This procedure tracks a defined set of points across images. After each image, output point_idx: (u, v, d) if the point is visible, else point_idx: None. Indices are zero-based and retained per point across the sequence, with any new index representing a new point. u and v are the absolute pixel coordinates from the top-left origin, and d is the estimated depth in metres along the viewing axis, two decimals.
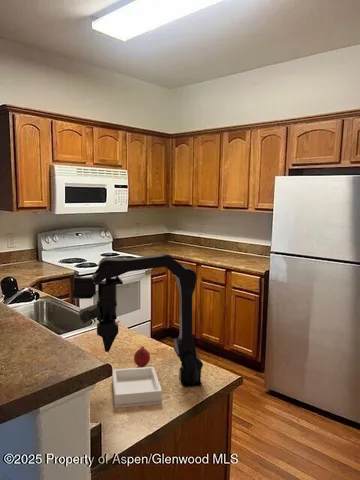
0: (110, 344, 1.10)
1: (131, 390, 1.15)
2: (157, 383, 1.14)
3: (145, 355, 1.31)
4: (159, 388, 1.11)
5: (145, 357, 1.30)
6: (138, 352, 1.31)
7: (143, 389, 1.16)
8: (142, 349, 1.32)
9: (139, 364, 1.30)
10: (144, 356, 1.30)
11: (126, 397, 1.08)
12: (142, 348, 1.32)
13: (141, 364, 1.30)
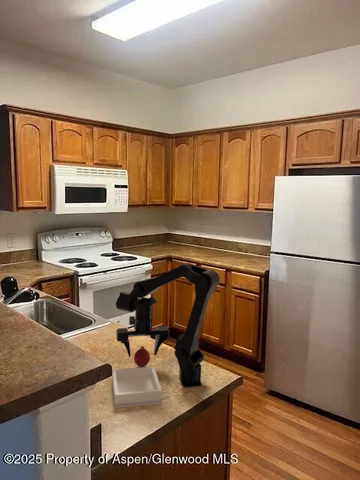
0: (127, 351, 1.30)
1: (131, 390, 1.15)
2: (157, 383, 1.14)
3: (145, 355, 1.31)
4: (159, 388, 1.11)
5: (145, 357, 1.30)
6: (138, 352, 1.31)
7: (143, 389, 1.16)
8: (142, 349, 1.32)
9: (139, 364, 1.30)
10: (144, 356, 1.30)
11: (126, 397, 1.08)
12: (142, 348, 1.32)
13: (141, 364, 1.30)
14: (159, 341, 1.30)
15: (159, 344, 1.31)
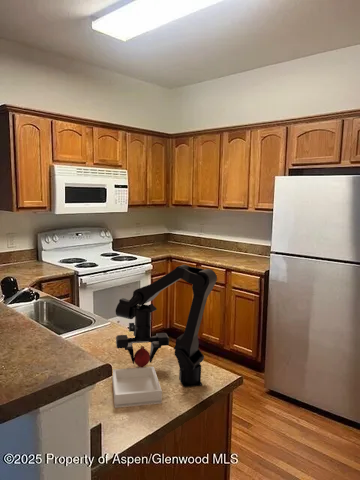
0: (131, 357, 1.31)
1: (131, 390, 1.15)
2: (157, 383, 1.14)
3: (145, 355, 1.31)
4: (159, 388, 1.11)
5: (145, 357, 1.30)
6: (138, 352, 1.31)
7: (143, 389, 1.16)
8: (142, 349, 1.32)
9: (139, 364, 1.30)
10: (144, 356, 1.30)
11: (126, 397, 1.08)
12: (142, 348, 1.32)
13: (141, 364, 1.30)
14: (154, 348, 1.30)
15: (154, 351, 1.31)
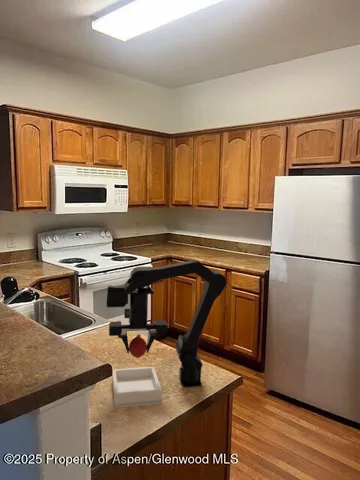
0: (125, 346, 1.17)
1: (131, 390, 1.15)
2: (157, 383, 1.14)
3: (141, 344, 1.17)
4: (159, 388, 1.11)
5: (141, 346, 1.17)
6: (133, 341, 1.18)
7: (143, 389, 1.16)
8: (138, 337, 1.18)
9: (134, 354, 1.17)
10: (139, 345, 1.17)
11: (126, 397, 1.08)
12: (138, 336, 1.18)
13: (137, 354, 1.17)
14: (151, 337, 1.17)
15: (152, 340, 1.17)
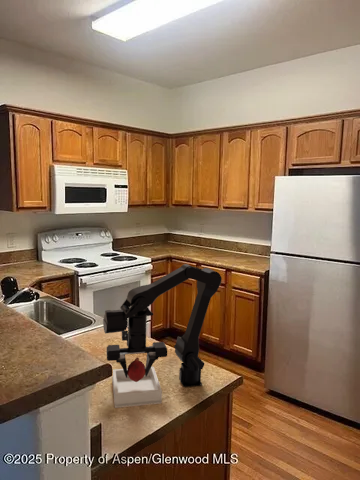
0: None
1: (131, 390, 1.15)
2: (157, 383, 1.14)
3: (140, 368, 1.14)
4: (159, 388, 1.11)
5: (140, 370, 1.14)
6: (132, 364, 1.14)
7: (143, 389, 1.16)
8: (136, 361, 1.15)
9: (133, 378, 1.14)
10: (138, 369, 1.14)
11: (126, 397, 1.08)
12: (136, 360, 1.15)
13: (136, 379, 1.14)
14: (151, 360, 1.14)
15: (151, 363, 1.14)
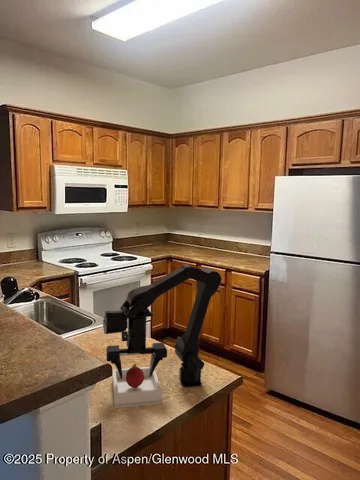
0: None
1: (131, 390, 1.15)
2: (157, 383, 1.14)
3: (138, 374, 1.14)
4: (159, 388, 1.11)
5: (138, 376, 1.14)
6: (129, 372, 1.14)
7: (143, 389, 1.16)
8: (134, 368, 1.15)
9: (132, 385, 1.14)
10: (136, 376, 1.14)
11: (126, 397, 1.08)
12: (134, 366, 1.15)
13: (134, 385, 1.14)
14: (155, 361, 1.14)
15: (155, 364, 1.15)
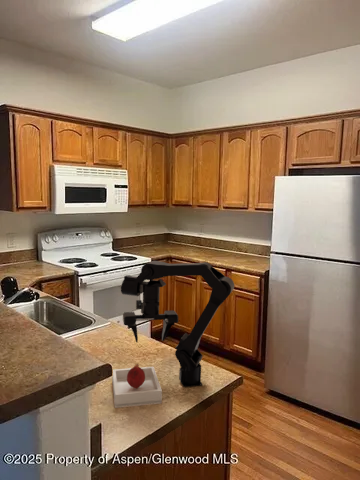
0: (134, 335, 1.25)
1: (131, 390, 1.15)
2: (157, 383, 1.14)
3: (139, 374, 1.14)
4: (159, 388, 1.11)
5: (139, 377, 1.14)
6: (131, 371, 1.15)
7: (143, 389, 1.16)
8: (136, 368, 1.15)
9: (132, 385, 1.14)
10: (138, 376, 1.14)
11: (126, 397, 1.08)
12: (136, 366, 1.15)
13: (135, 385, 1.14)
14: (167, 325, 1.25)
15: (167, 329, 1.26)
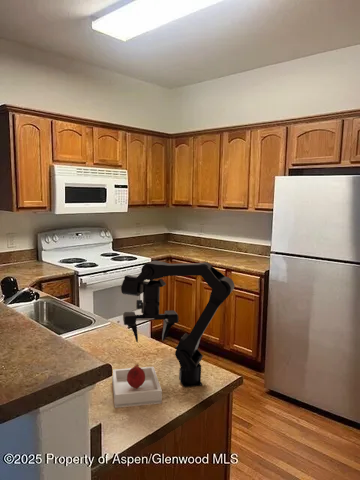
0: None
1: (131, 390, 1.15)
2: (157, 383, 1.14)
3: (139, 374, 1.14)
4: (159, 388, 1.11)
5: (139, 377, 1.14)
6: (131, 371, 1.15)
7: (143, 389, 1.16)
8: (136, 368, 1.15)
9: (132, 385, 1.14)
10: (138, 376, 1.14)
11: (126, 397, 1.08)
12: (136, 366, 1.15)
13: (135, 385, 1.14)
14: (168, 325, 1.25)
15: (168, 328, 1.26)
